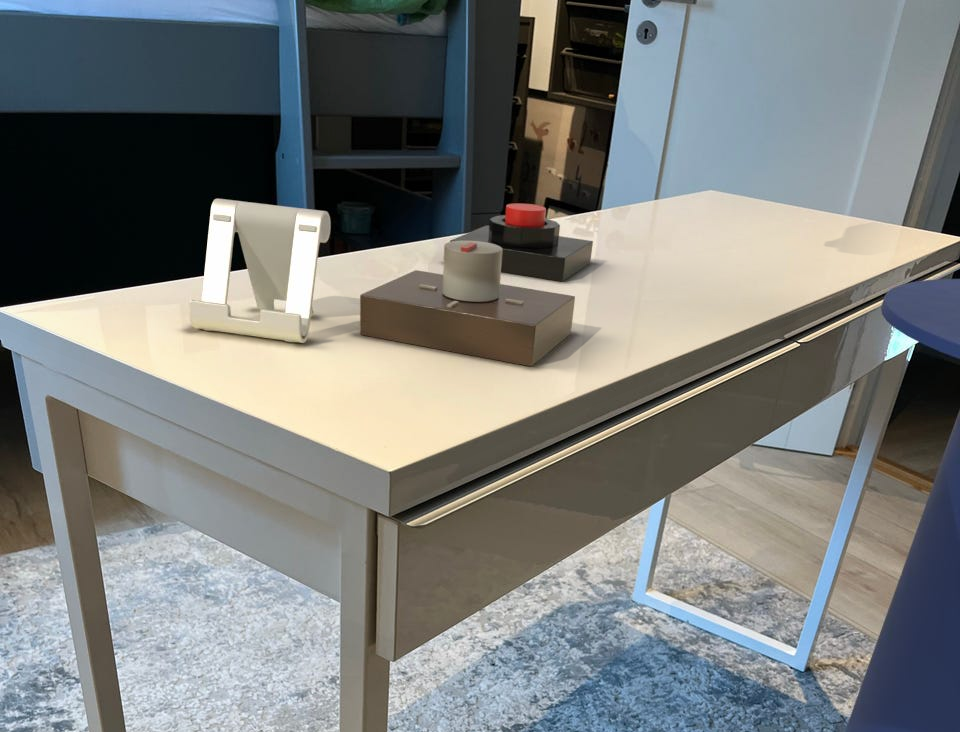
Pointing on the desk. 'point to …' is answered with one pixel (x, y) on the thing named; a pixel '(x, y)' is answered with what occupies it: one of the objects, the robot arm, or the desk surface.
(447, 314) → the panel
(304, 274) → the tablet stand
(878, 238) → the desk surface
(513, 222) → the button
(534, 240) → the button box
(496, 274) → the dial
